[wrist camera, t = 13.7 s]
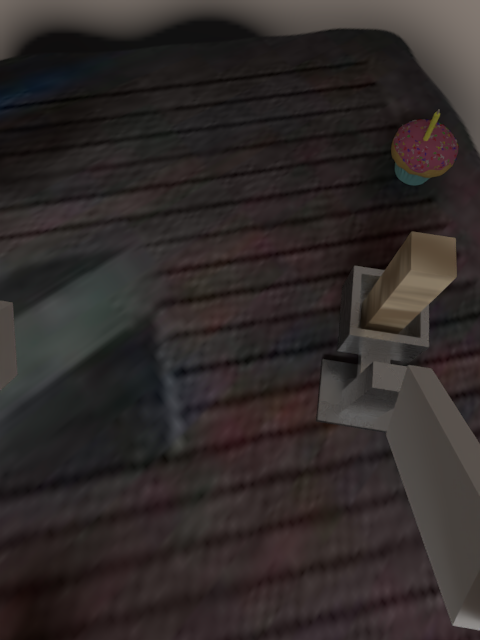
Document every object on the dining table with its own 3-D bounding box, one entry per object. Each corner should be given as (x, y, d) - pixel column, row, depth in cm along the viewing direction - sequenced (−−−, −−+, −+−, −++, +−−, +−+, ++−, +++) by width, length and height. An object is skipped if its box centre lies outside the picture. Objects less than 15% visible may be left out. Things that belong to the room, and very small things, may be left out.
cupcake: (414, 207, 61) (456, 141, 50) (368, 168, 64) (398, 97, 53) (453, 174, 64) (502, 104, 53) (407, 138, 66) (444, 63, 55)
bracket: (397, 434, 50) (447, 414, 39) (316, 421, 50) (342, 397, 39) (399, 315, 55) (444, 268, 44) (326, 304, 56) (352, 254, 44)
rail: (393, 338, 48) (456, 276, 35) (359, 333, 48) (411, 269, 35) (394, 308, 49) (455, 238, 36) (361, 303, 49) (411, 231, 36)
